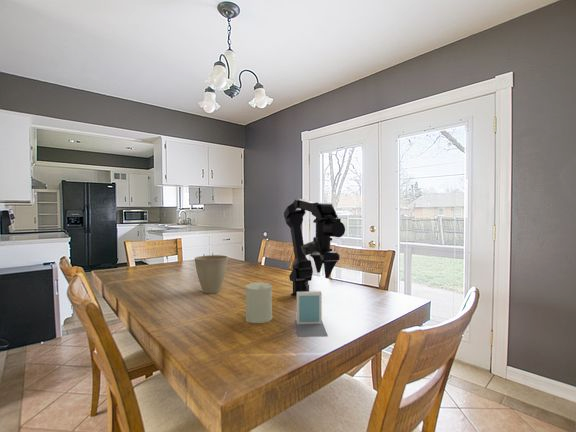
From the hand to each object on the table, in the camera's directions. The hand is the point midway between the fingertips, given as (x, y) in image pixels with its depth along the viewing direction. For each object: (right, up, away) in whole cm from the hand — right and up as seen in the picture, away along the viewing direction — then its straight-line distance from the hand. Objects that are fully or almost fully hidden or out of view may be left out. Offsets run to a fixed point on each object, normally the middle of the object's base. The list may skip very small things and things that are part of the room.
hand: (322, 275), depth 113 cm
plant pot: (-49, -12, +21) cm, 55 cm away
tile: (-7, -12, -17) cm, 22 cm away
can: (-23, -13, -13) cm, 30 cm away
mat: (-6, -13, -21) cm, 26 cm away
